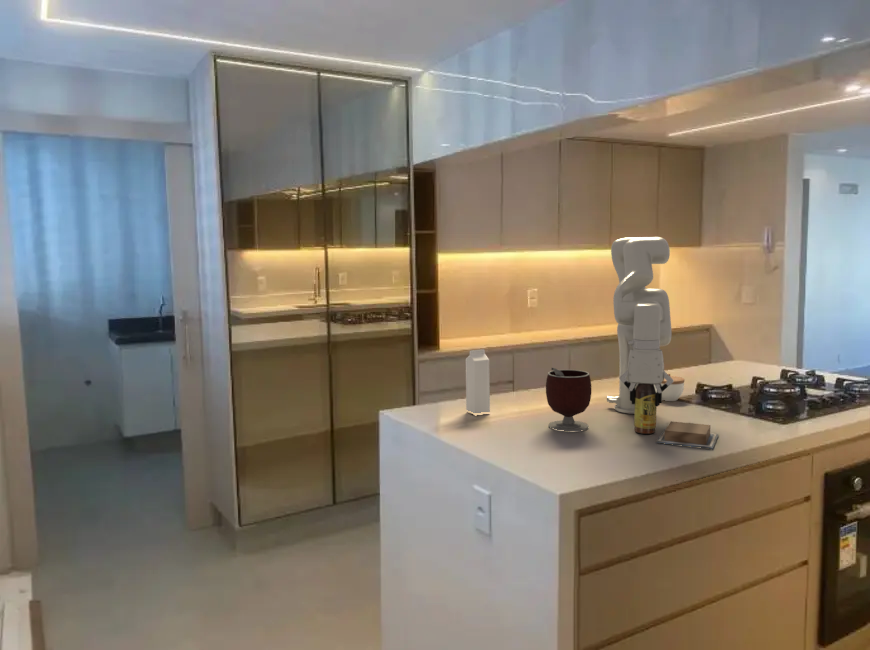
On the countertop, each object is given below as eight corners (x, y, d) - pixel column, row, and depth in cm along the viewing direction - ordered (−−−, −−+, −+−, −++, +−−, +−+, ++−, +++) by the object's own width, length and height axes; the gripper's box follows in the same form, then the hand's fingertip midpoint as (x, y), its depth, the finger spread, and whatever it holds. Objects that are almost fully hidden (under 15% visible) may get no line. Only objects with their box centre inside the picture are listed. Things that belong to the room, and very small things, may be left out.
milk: (466, 413, 234) (464, 349, 231) (481, 410, 236) (480, 348, 234) (475, 416, 228) (473, 351, 226) (490, 414, 231) (489, 350, 229)
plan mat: (655, 443, 193) (656, 431, 192) (664, 430, 206) (665, 419, 205) (712, 449, 186) (713, 436, 185) (718, 436, 199) (718, 424, 198)
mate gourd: (562, 419, 222) (562, 358, 220) (599, 426, 212) (600, 363, 210) (533, 428, 211) (533, 365, 209) (571, 436, 201) (571, 370, 199)
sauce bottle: (644, 436, 200) (645, 369, 198) (629, 431, 206) (629, 366, 204) (661, 432, 203) (661, 367, 201) (645, 428, 209) (646, 364, 207)
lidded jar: (687, 398, 250) (687, 372, 249) (680, 403, 241) (680, 377, 240) (657, 395, 255) (657, 370, 254) (649, 400, 246) (649, 375, 245)
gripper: (614, 345, 202) (613, 404, 204) (675, 348, 194) (673, 409, 196) (619, 342, 209) (619, 399, 211) (679, 344, 201) (677, 404, 203)
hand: (645, 403), depth 204 cm, fingers closed on sauce bottle, 6 cm apart
